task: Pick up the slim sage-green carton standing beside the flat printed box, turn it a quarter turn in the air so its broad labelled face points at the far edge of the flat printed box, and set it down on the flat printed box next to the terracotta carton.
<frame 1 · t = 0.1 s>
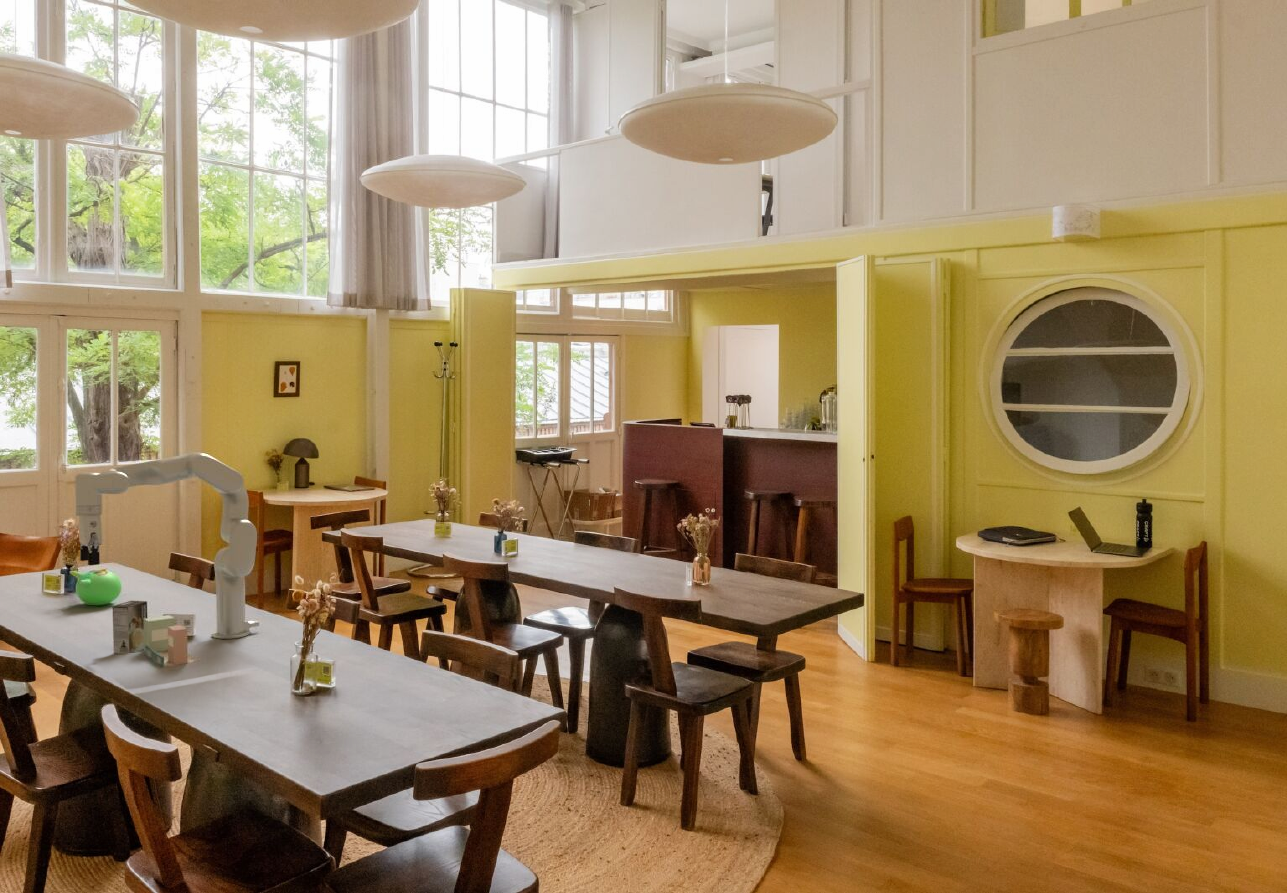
hand: (89, 562, 321), 31 cm above the table, fingers open, 9 cm apart
green teapot: (97, 605, 396), on the table
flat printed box: (171, 662, 318), on the table
sage carton: (159, 653, 328), on the table
coffee box: (130, 651, 331), on the table
terracotta carton: (177, 661, 313), point 1 cm above the table, touching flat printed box
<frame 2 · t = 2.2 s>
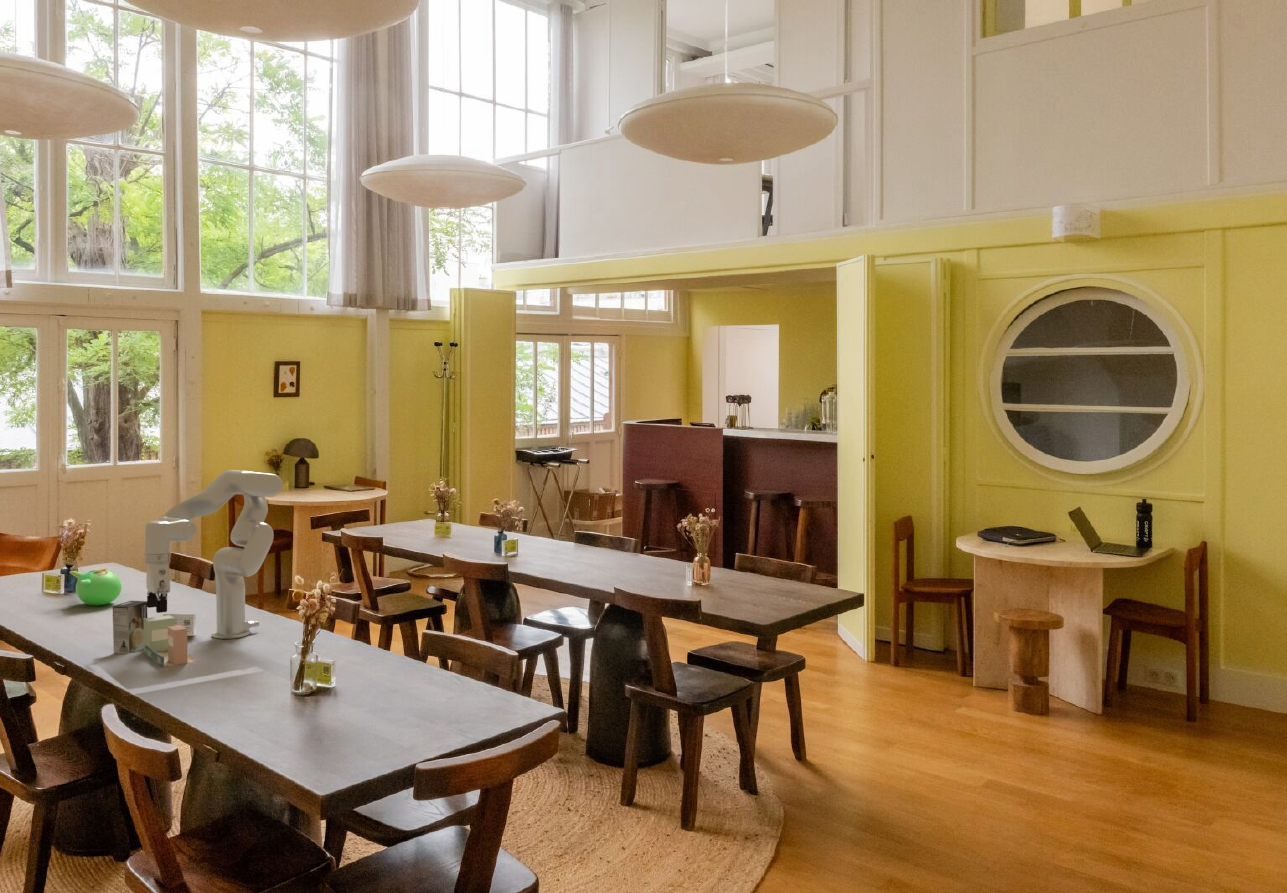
hand: (156, 609, 326), 15 cm above the table, fingers open, 9 cm apart
nothing on the table moved.
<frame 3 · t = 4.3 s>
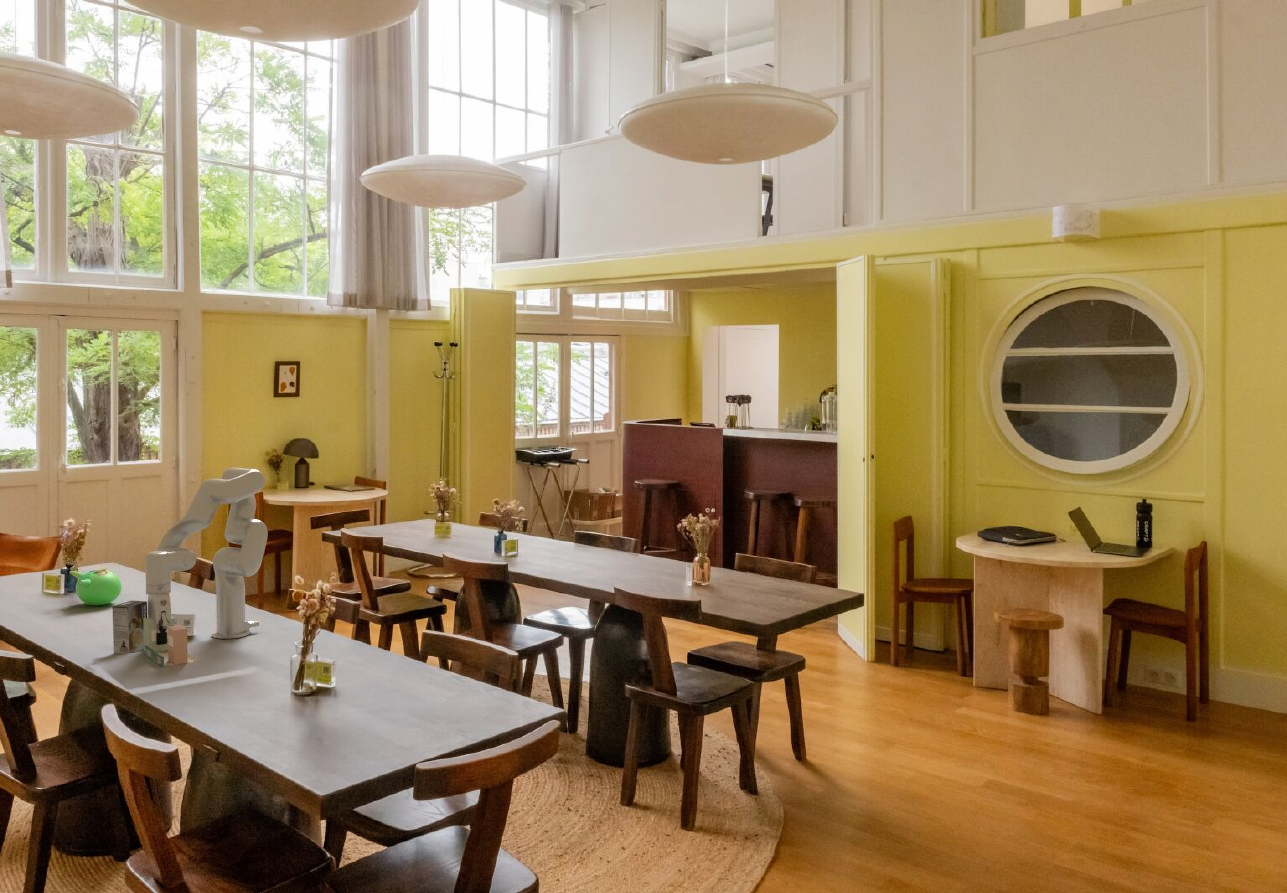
hand: (159, 641, 327), 4 cm above the table, fingers closed on sage carton, 5 cm apart
sage carton: (159, 653, 328), on the table, touching gripper
everything else where it was.
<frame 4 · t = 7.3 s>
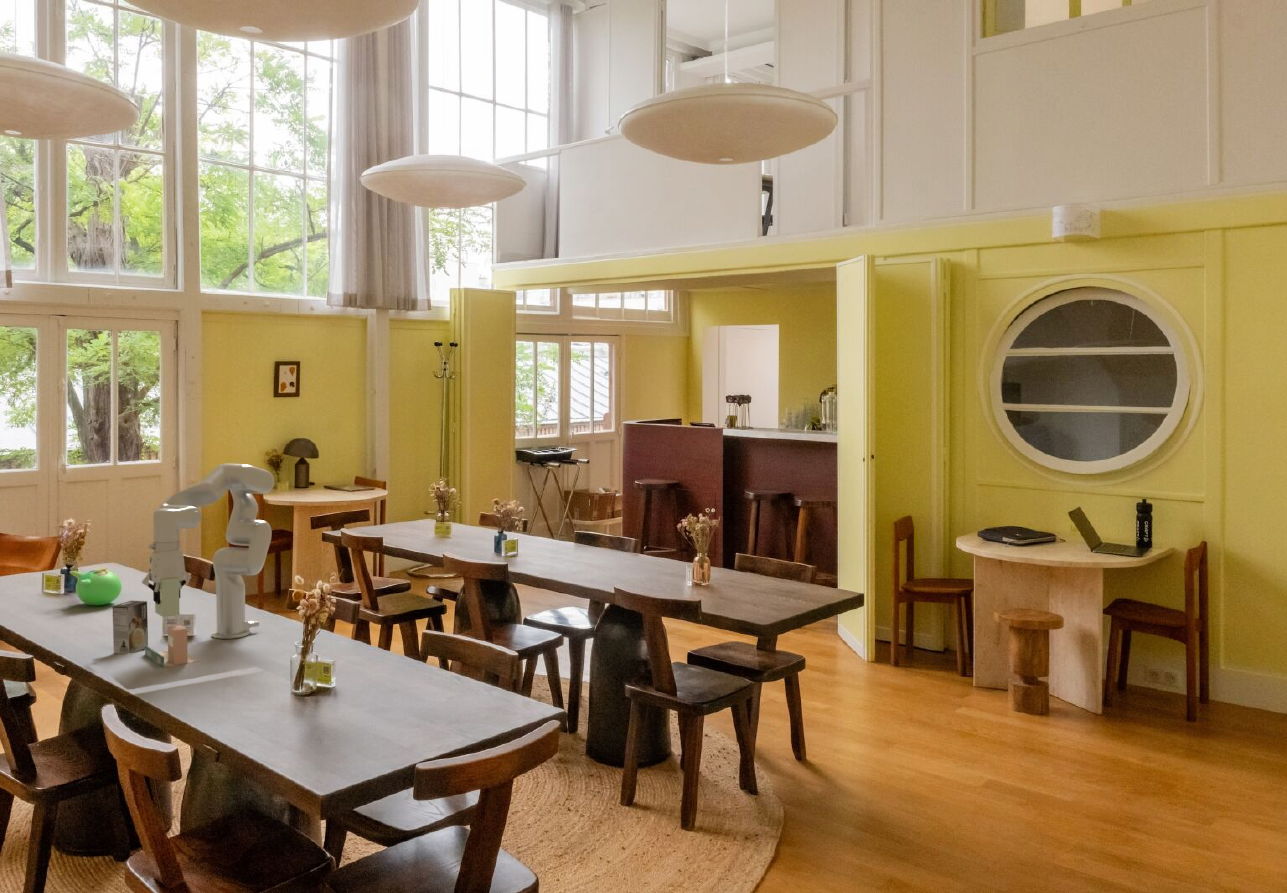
hand: (167, 601, 320), 19 cm above the table, fingers closed on sage carton, 5 cm apart
sage carton: (167, 613, 320), point 15 cm above the table, touching gripper
everything else where it was.
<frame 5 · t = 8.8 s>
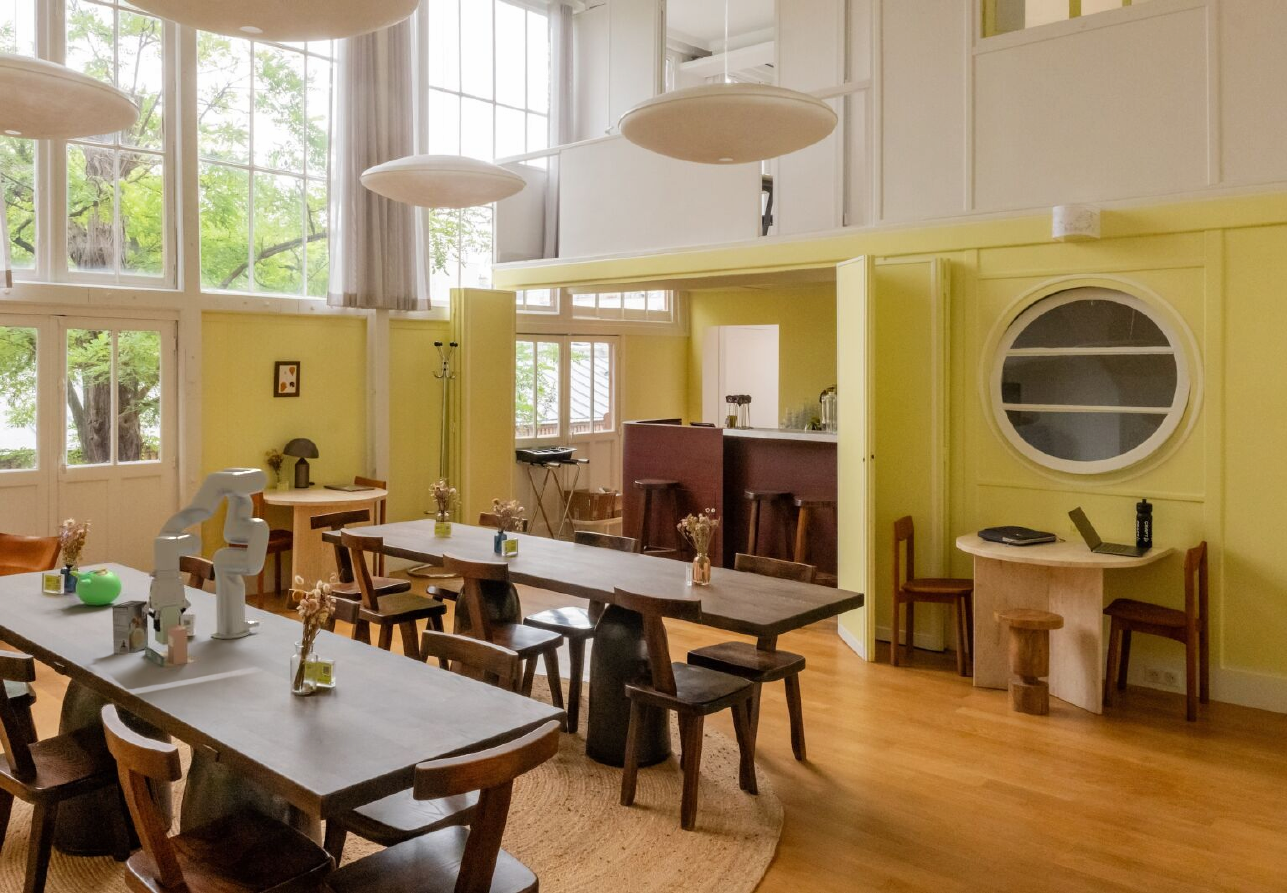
hand: (167, 629, 320), 10 cm above the table, fingers closed on sage carton, 5 cm apart
sage carton: (167, 641, 320), point 6 cm above the table, touching gripper
everything else where it was.
when the fingers open (7 cm above the table, at t = 10.3 s): sage carton drops 1 cm, resting on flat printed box.
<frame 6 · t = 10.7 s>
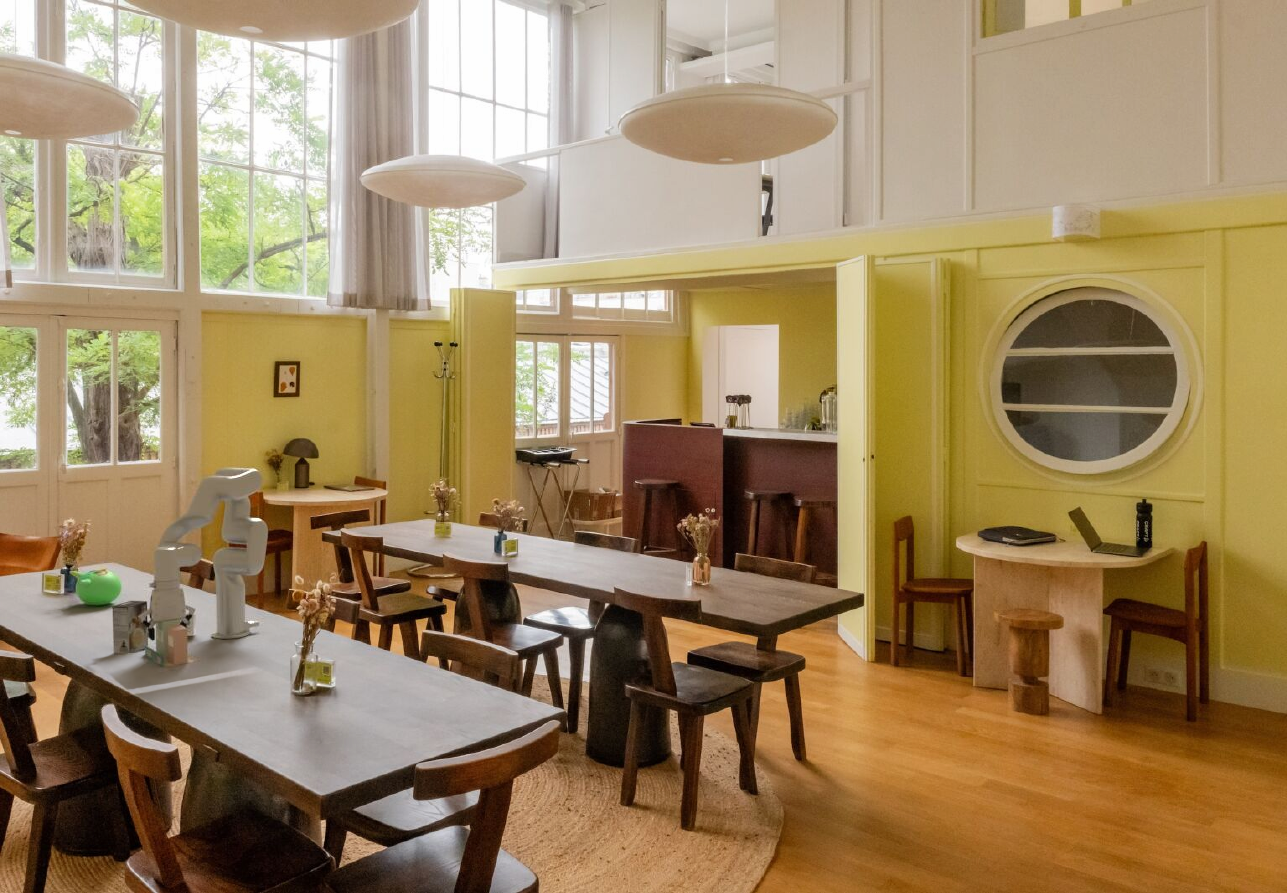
hand: (167, 637, 320), 7 cm above the table, fingers open, 9 cm apart
sage carton: (168, 654, 321), point 1 cm above the table, touching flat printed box
everything else where it was.
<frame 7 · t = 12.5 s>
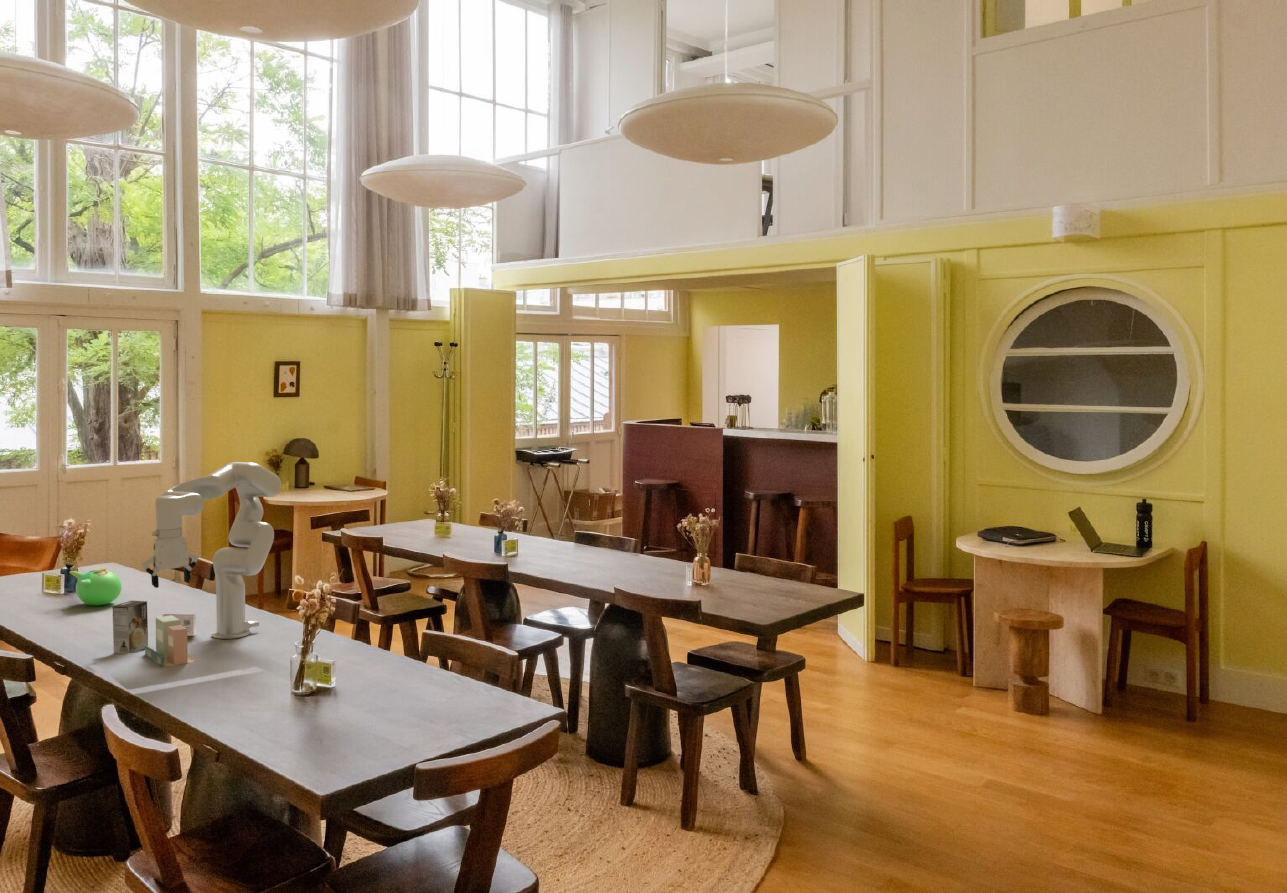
hand: (171, 584, 324), 24 cm above the table, fingers open, 9 cm apart
nothing on the table moved.
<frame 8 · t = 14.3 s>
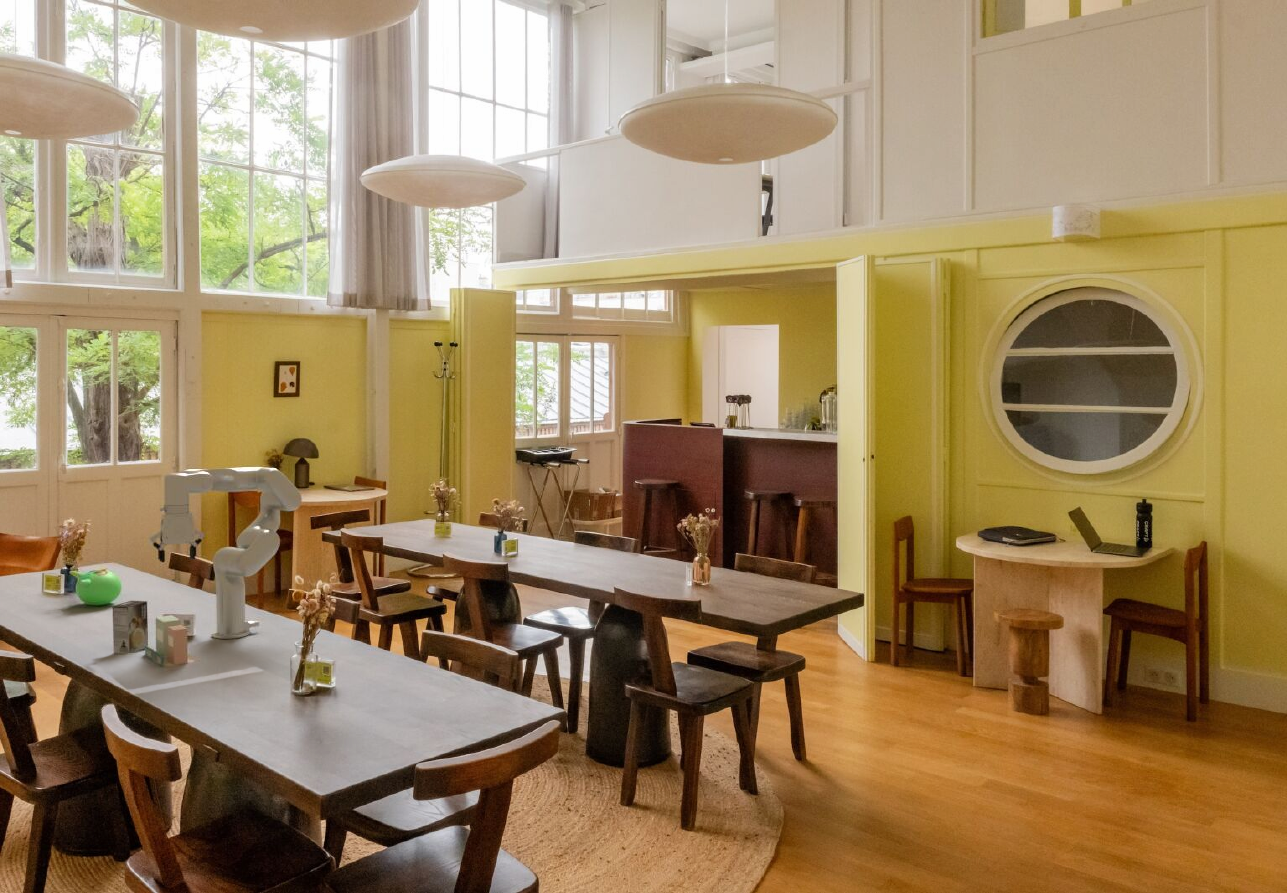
hand: (177, 560, 333), 30 cm above the table, fingers open, 9 cm apart
nothing on the table moved.
at the end: sage carton inside the target area (0.6 cm from its centre), point 1.5 cm above the table; sage carton tilted 0°; the gripper is holding nothing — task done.
